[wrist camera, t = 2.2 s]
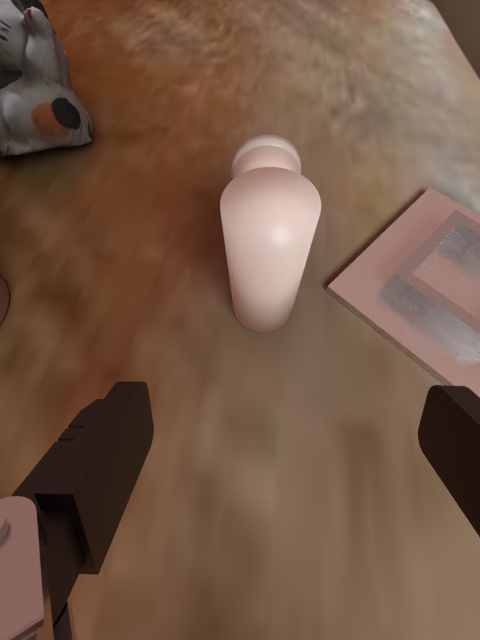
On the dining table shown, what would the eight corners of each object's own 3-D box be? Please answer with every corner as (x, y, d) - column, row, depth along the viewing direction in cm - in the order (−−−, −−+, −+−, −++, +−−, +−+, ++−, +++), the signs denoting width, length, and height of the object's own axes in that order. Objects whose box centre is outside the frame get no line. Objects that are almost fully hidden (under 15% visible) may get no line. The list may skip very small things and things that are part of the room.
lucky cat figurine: (-38, 156, 36) (-128, -18, 27) (62, 143, 43) (17, 4, 34) (11, 171, 28) (-91, -63, 20) (123, 153, 35) (84, -23, 27)
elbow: (293, 332, 25) (325, 243, 14) (232, 332, 26) (217, 244, 15) (288, 246, 29) (311, 122, 18) (234, 247, 29) (224, 124, 18)
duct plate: (325, 290, 27) (333, 273, 24) (426, 193, 31) (442, 170, 28) (496, 426, 22) (529, 423, 19) (589, 289, 26) (627, 272, 23)
